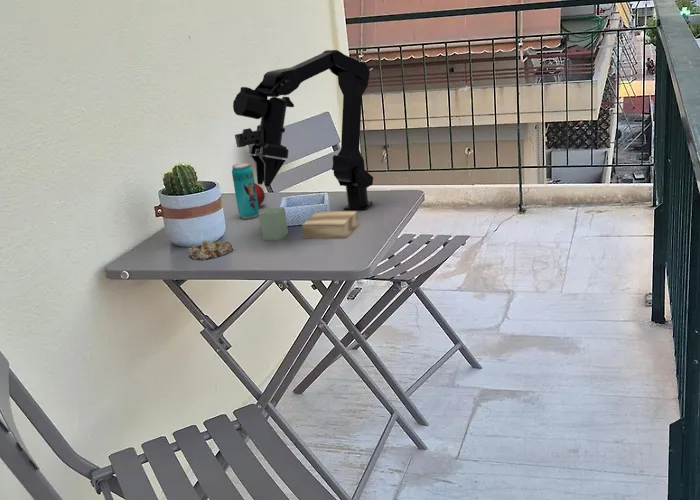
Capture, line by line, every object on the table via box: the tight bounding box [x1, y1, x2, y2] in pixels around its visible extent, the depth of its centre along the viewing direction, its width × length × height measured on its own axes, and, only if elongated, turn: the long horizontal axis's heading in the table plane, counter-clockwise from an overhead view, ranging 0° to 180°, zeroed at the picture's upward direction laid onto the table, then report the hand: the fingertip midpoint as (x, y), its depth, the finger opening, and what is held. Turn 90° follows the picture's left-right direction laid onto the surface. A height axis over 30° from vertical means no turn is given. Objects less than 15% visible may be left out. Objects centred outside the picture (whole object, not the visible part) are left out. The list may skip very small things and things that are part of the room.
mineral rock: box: [188, 240, 234, 261], centre depth 185 cm, size 11×4×8 cm
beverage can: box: [231, 162, 260, 220], centre depth 211 cm, size 6×6×15 cm
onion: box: [255, 183, 266, 208], centre depth 221 cm, size 6×6×8 cm
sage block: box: [258, 206, 289, 241], centre depth 192 cm, size 5×5×7 cm
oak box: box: [301, 210, 360, 239], centre depth 191 cm, size 11×11×4 cm
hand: (263, 185), depth 187 cm, fingers open, 9 cm apart
